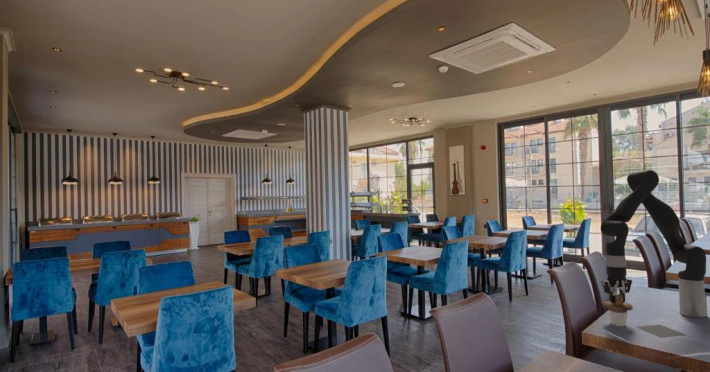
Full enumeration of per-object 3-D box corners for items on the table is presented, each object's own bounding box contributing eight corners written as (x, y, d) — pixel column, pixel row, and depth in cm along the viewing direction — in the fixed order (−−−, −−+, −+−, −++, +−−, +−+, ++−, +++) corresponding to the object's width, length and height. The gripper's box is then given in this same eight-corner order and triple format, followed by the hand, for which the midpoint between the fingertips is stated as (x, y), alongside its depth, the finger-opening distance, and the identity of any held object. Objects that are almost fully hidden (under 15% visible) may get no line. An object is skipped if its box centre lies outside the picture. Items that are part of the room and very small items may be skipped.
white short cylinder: (610, 321, 177) (609, 306, 177) (628, 324, 172) (627, 309, 172) (608, 326, 171) (607, 310, 171) (627, 329, 167) (626, 313, 167)
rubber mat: (660, 326, 169) (659, 324, 169) (686, 336, 157) (686, 334, 157) (635, 328, 167) (635, 326, 167) (661, 339, 155) (661, 337, 155)
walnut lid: (618, 302, 178) (618, 290, 178) (639, 309, 167) (638, 297, 167) (597, 304, 177) (597, 292, 177) (616, 311, 166) (616, 299, 166)
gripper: (623, 262, 177) (624, 299, 176) (595, 264, 175) (597, 301, 175) (637, 265, 169) (638, 303, 169) (608, 267, 167) (610, 306, 167)
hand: (617, 302), depth 172 cm, fingers closed on walnut lid, 4 cm apart
